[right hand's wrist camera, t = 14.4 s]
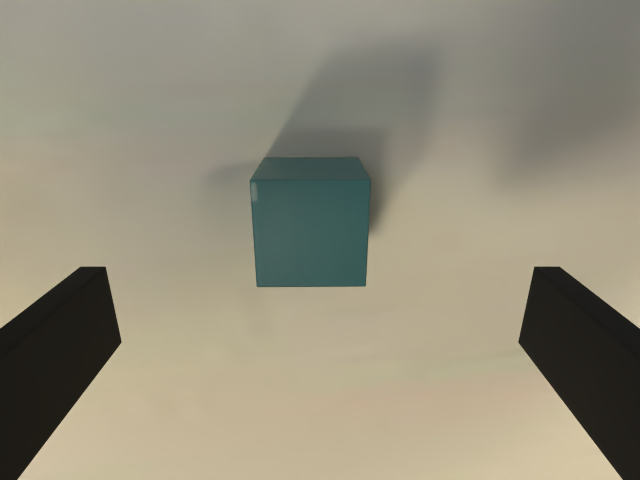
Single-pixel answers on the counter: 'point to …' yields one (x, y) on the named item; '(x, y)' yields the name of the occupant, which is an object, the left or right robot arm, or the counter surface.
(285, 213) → the teal cube
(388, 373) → the counter surface
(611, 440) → the right robot arm
